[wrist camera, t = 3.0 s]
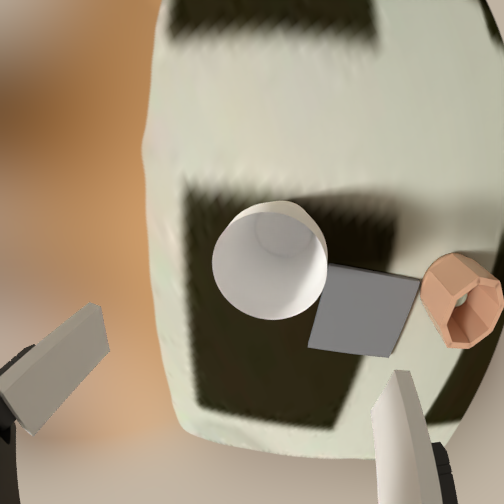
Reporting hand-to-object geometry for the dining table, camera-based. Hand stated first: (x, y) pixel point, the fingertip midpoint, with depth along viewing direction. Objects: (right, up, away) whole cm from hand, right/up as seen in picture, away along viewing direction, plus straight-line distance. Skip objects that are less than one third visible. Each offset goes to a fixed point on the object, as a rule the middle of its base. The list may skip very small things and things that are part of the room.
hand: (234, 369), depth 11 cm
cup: (+4, +8, +21) cm, 23 cm away
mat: (+15, -3, +22) cm, 27 cm away
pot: (+26, +1, +19) cm, 32 cm away
